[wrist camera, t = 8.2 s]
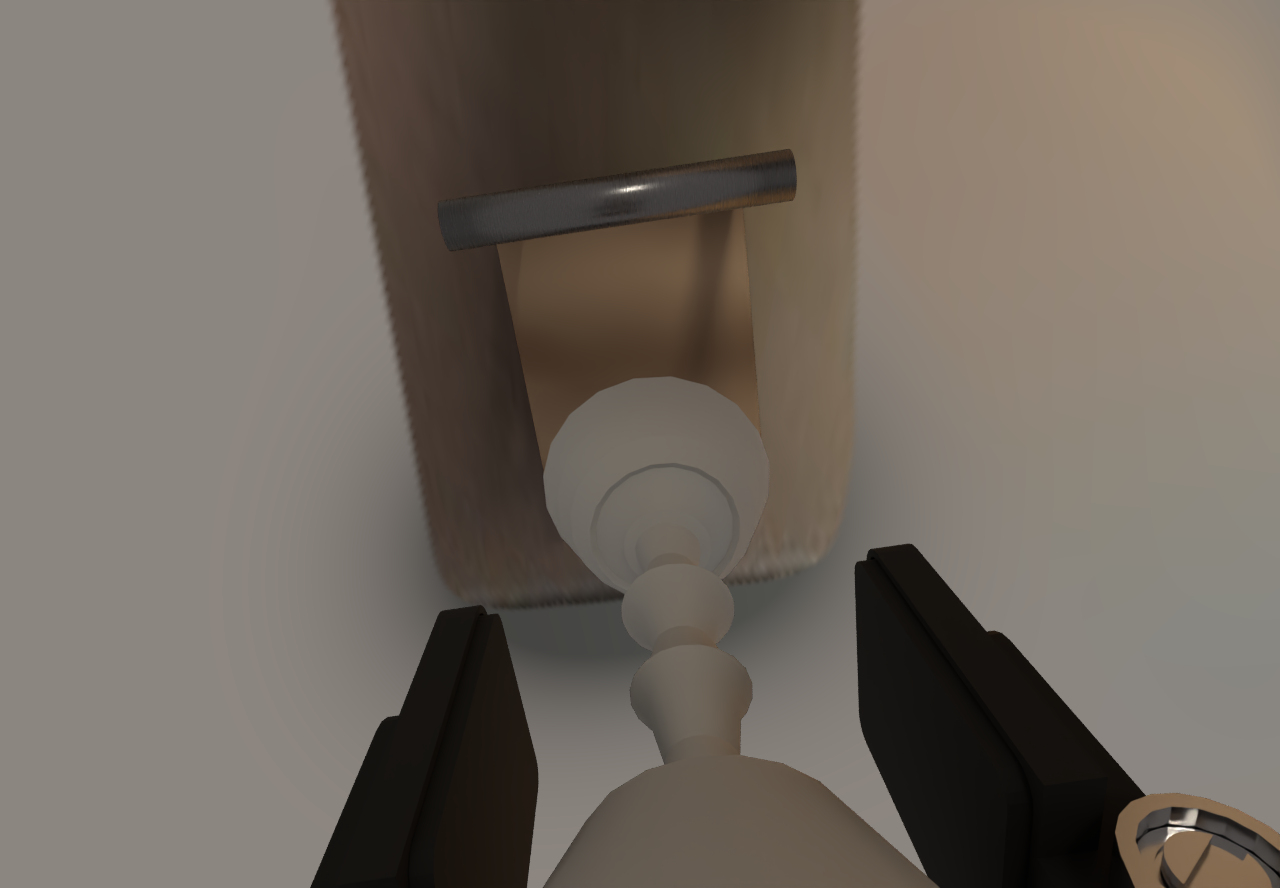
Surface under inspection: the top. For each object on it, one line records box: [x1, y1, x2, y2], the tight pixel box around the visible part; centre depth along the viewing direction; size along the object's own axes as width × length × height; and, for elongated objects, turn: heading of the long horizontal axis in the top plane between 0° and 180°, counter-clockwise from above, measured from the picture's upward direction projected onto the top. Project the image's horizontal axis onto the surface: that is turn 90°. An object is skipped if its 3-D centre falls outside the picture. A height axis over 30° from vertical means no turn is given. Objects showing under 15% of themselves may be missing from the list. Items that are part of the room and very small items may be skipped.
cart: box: [438, 149, 797, 470], centre depth 24 cm, size 12×9×12 cm
